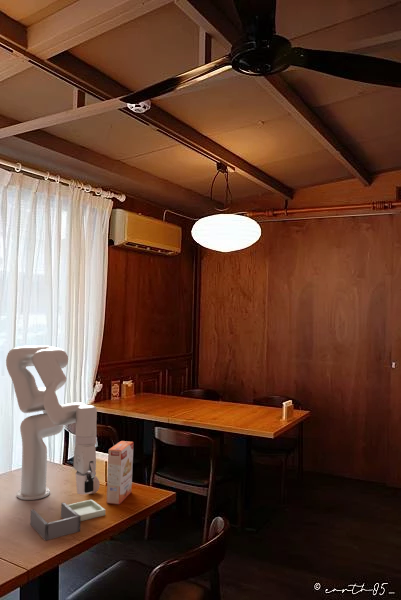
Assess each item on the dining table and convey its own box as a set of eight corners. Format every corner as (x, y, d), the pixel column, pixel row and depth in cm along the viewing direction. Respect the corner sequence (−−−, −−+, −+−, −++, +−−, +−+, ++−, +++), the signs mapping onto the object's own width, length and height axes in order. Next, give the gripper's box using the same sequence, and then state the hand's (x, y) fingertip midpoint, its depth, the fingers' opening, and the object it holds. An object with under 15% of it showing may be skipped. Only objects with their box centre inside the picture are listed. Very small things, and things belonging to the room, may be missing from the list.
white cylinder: (71, 493, 178) (71, 474, 178) (82, 487, 184) (82, 468, 185) (87, 496, 175) (87, 476, 176) (98, 490, 182) (98, 470, 182)
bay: (30, 524, 170) (30, 509, 170) (63, 516, 177) (64, 502, 177) (45, 540, 158) (45, 524, 158) (80, 531, 165) (80, 516, 166)
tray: (62, 511, 181) (62, 506, 181) (91, 504, 188) (91, 499, 188) (74, 522, 172) (75, 516, 172) (105, 515, 179) (105, 509, 179)
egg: (84, 495, 197) (84, 477, 197) (87, 491, 202) (88, 473, 202) (97, 496, 197) (98, 477, 197) (100, 491, 202) (101, 473, 202)
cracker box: (120, 505, 188) (122, 450, 189) (105, 503, 189) (107, 449, 190) (132, 492, 202) (134, 441, 202) (118, 490, 203) (120, 440, 204)
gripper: (66, 436, 185) (65, 484, 185) (86, 446, 171) (85, 498, 171) (85, 433, 190) (84, 480, 189) (105, 443, 176) (104, 493, 175)
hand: (84, 488), depth 180 cm, fingers closed on white cylinder, 6 cm apart
